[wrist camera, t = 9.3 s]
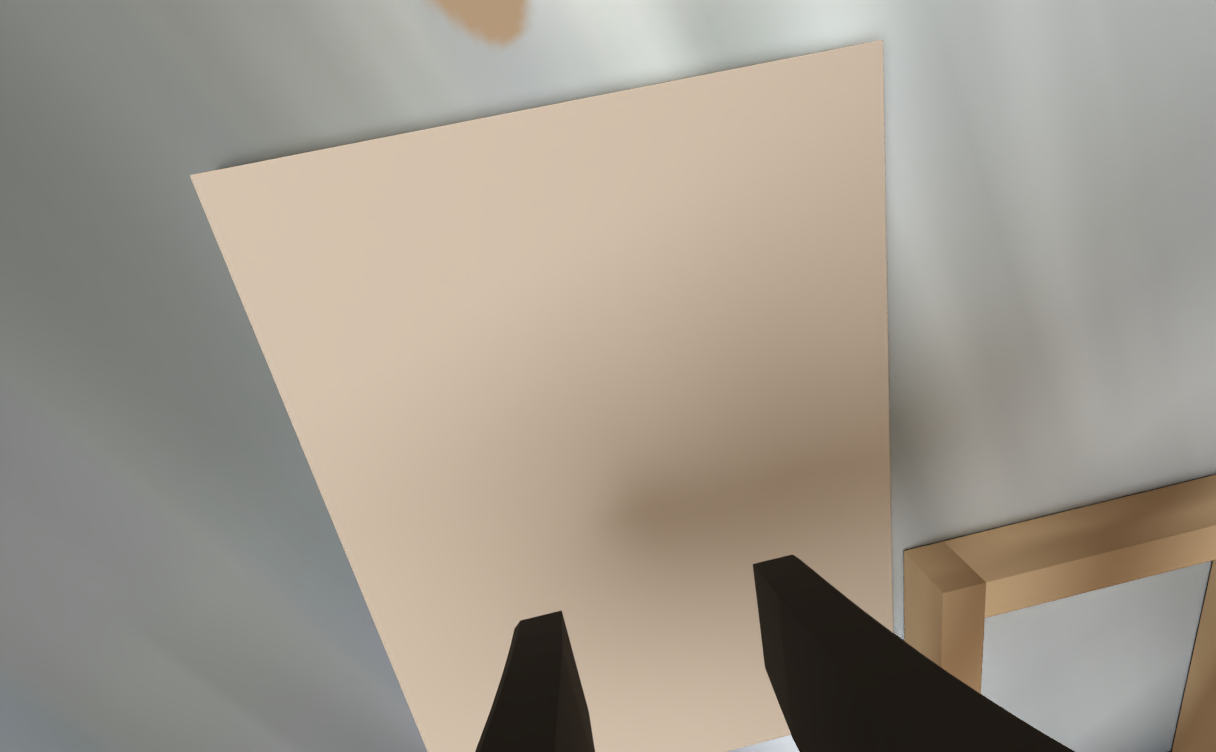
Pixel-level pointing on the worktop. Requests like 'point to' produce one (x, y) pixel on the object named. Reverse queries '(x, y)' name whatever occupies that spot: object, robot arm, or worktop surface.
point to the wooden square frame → (1068, 581)
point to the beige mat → (591, 381)
